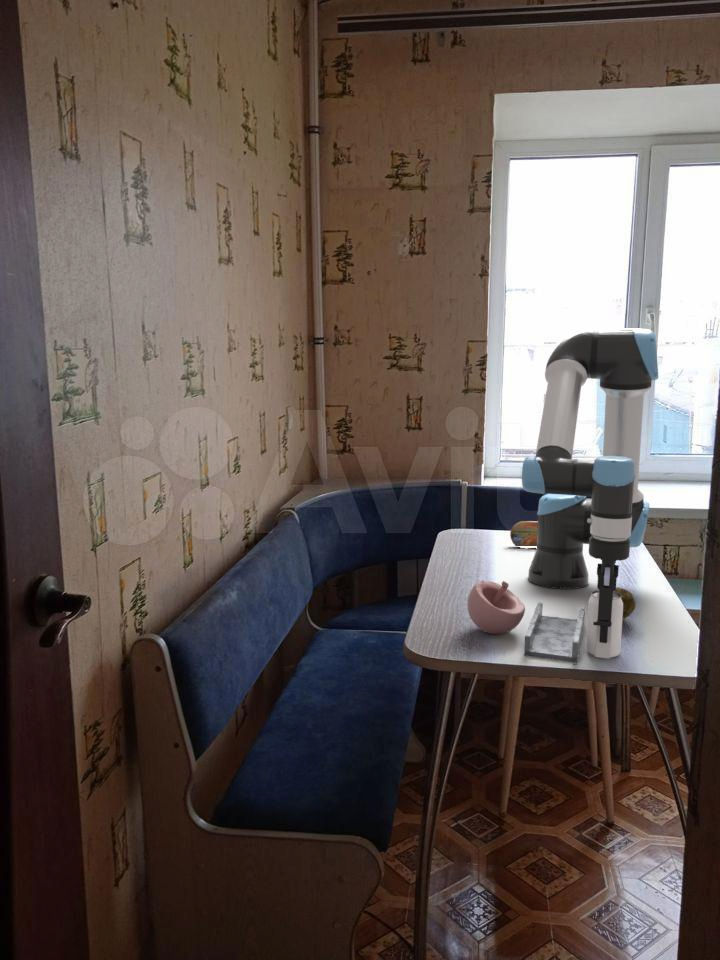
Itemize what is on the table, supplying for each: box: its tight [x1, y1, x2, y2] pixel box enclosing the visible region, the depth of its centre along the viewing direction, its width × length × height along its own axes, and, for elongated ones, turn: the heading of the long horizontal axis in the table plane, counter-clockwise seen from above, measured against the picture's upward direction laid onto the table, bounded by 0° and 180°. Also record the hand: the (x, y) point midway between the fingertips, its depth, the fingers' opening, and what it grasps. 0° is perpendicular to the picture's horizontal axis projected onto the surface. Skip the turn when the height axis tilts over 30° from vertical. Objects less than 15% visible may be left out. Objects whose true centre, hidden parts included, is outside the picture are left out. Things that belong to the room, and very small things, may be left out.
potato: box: [589, 587, 636, 619], centre depth 170 cm, size 8×13×8 cm, turn 175°
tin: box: [509, 520, 538, 547], centre depth 233 cm, size 15×3×8 cm, turn 88°
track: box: [523, 601, 586, 663], centre depth 158 cm, size 22×10×4 cm, turn 160°
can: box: [585, 589, 624, 659], centre depth 150 cm, size 6×6×12 cm
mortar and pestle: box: [466, 580, 526, 635], centre depth 161 cm, size 12×12×12 cm
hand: (603, 649), depth 151 cm, fingers open, 7 cm apart
